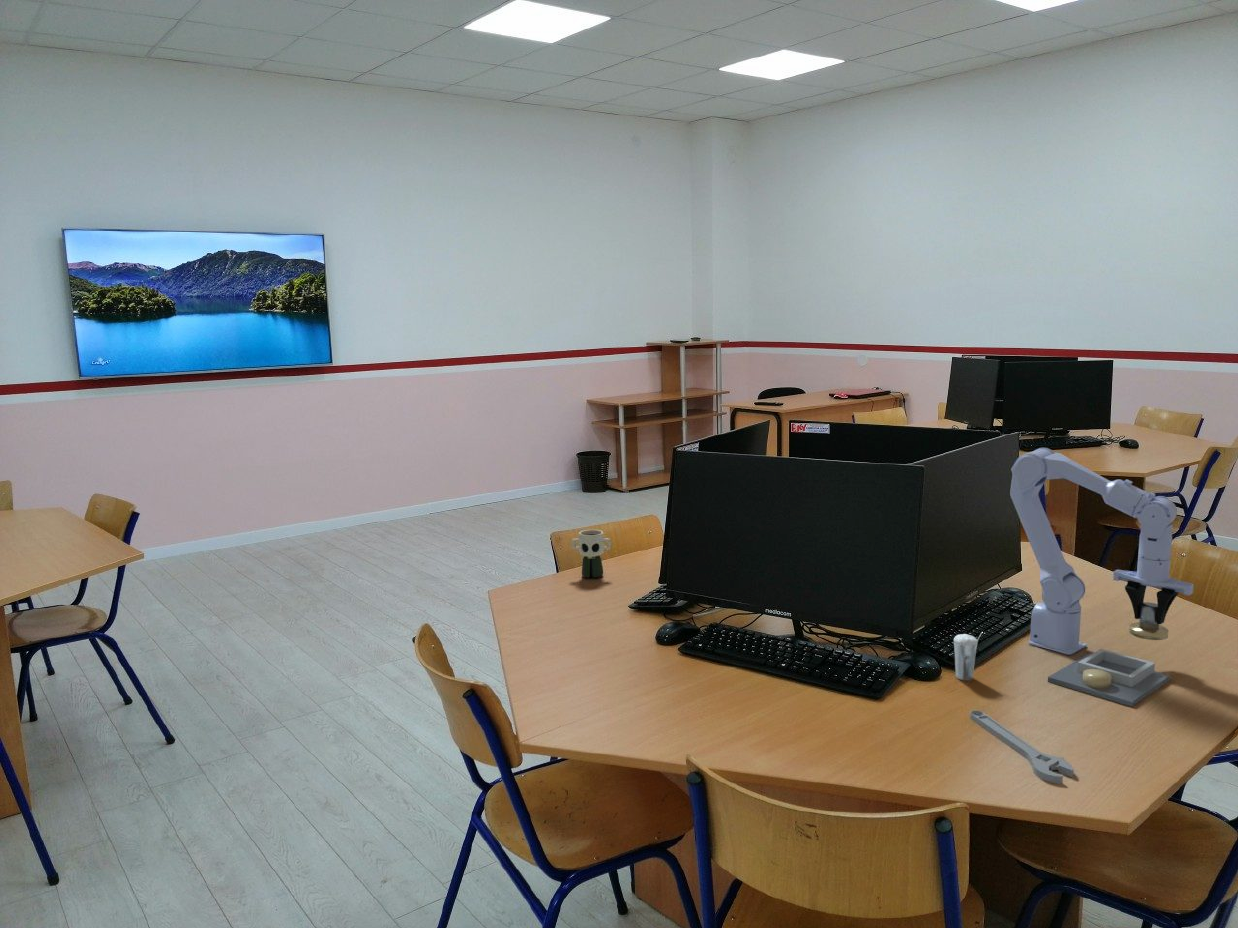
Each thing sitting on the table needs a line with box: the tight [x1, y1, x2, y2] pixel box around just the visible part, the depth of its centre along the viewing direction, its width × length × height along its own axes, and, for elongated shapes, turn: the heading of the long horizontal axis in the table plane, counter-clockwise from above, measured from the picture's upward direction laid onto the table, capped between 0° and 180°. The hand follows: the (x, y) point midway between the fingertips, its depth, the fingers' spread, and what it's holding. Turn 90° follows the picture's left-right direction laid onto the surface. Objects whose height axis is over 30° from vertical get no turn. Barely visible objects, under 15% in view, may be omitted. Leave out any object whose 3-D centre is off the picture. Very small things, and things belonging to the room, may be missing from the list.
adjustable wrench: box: [969, 709, 1075, 785], centre depth 162 cm, size 25×6×2 cm, turn 9°
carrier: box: [1047, 648, 1171, 708], centre depth 186 cm, size 16×18×3 cm
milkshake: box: [953, 631, 983, 682], centre depth 189 cm, size 4×5×10 cm
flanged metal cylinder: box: [1128, 601, 1169, 641], centre depth 191 cm, size 7×7×6 cm
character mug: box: [572, 529, 611, 578], centre depth 266 cm, size 11×7×13 cm, turn 85°
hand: (1149, 620), depth 191 cm, fingers closed on flanged metal cylinder, 4 cm apart
